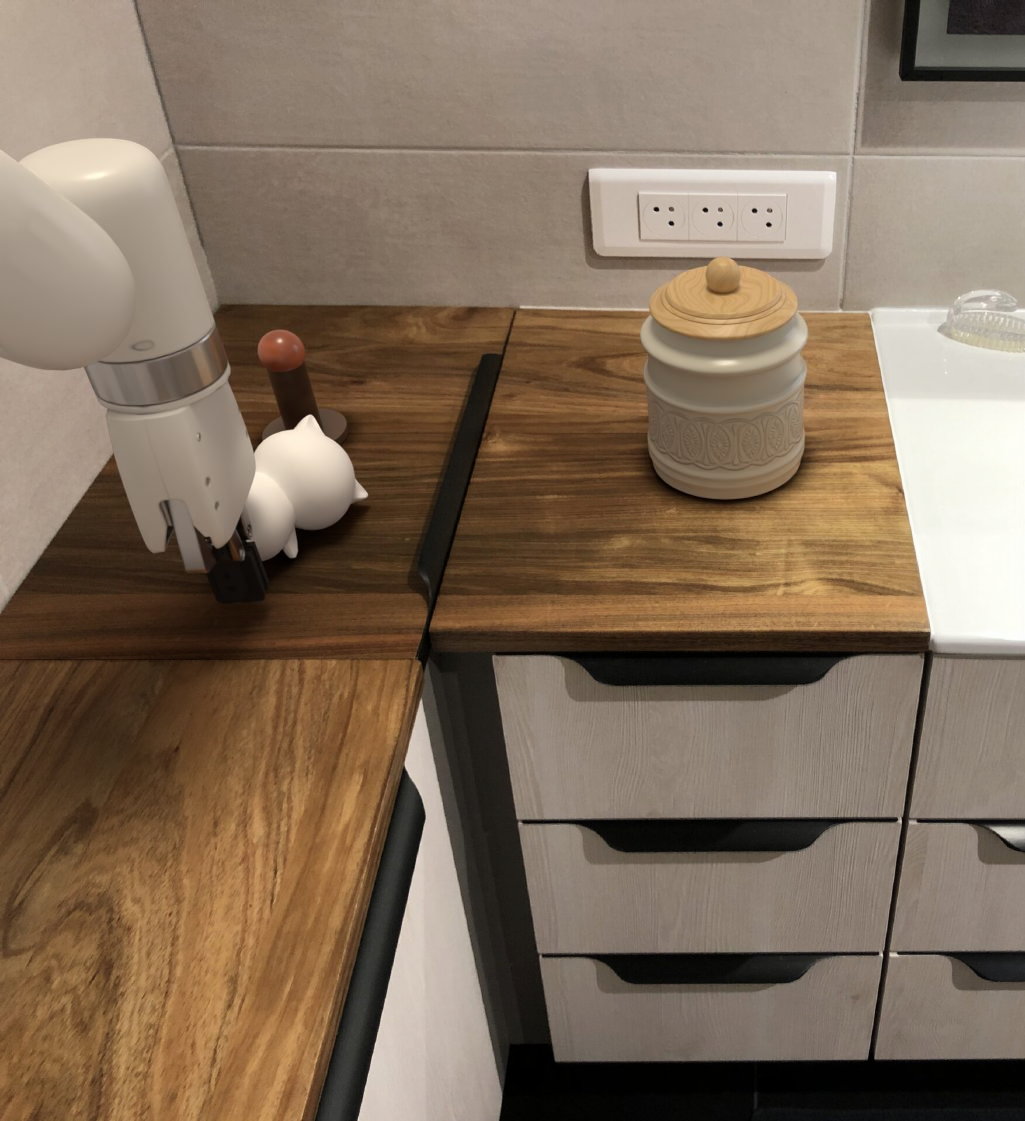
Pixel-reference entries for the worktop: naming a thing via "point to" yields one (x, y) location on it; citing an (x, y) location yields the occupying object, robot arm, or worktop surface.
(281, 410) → the marker post
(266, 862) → the worktop surface
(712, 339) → the jar
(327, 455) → the cat figurine
